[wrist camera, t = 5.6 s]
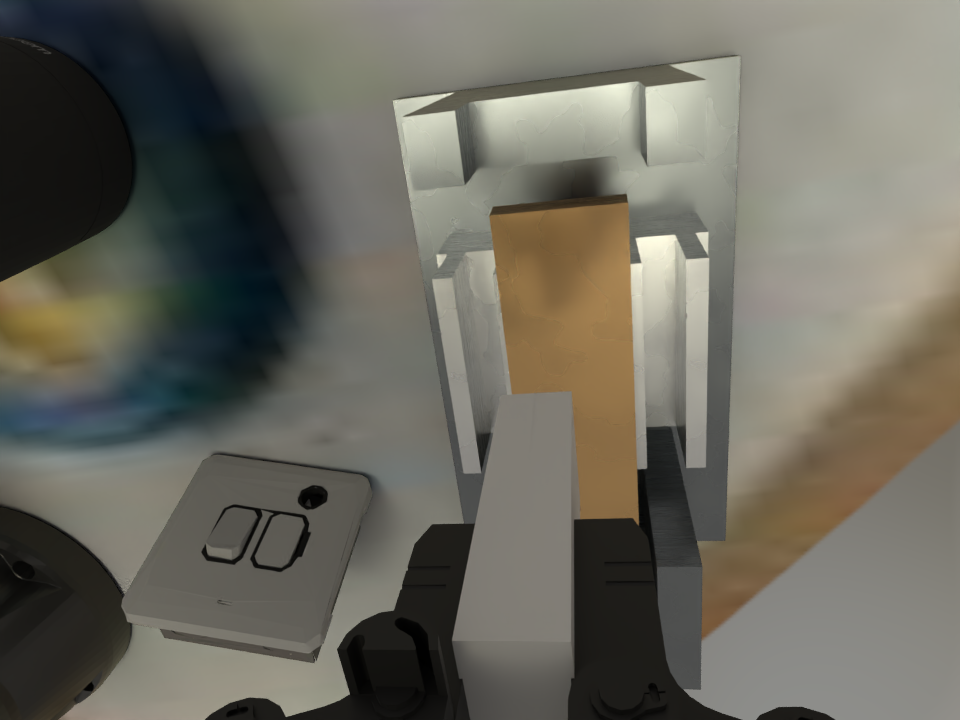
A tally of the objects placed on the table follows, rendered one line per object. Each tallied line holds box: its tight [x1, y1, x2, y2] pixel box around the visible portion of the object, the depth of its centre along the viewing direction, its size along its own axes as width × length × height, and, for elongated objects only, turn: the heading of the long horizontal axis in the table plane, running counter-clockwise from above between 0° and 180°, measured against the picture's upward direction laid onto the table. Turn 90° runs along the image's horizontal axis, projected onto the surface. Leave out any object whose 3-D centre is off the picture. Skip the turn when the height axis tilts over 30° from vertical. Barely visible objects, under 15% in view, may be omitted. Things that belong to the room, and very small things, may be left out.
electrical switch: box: [121, 454, 372, 663], centre depth 34 cm, size 9×5×9 cm, turn 86°
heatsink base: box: [393, 55, 741, 690], centre depth 26 cm, size 22×13×10 cm, turn 7°
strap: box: [489, 194, 639, 526], centre depth 23 cm, size 15×4×1 cm, turn 7°
